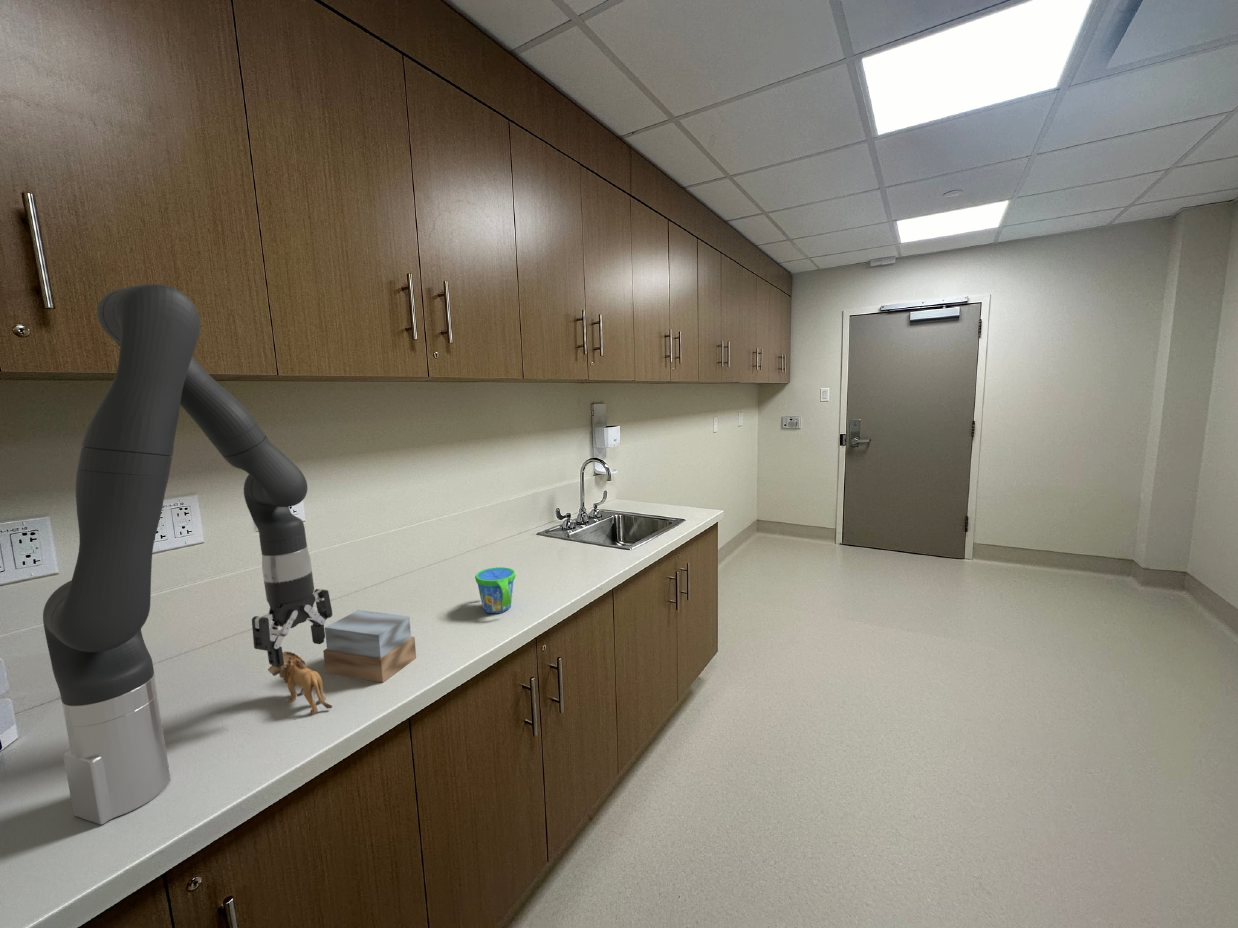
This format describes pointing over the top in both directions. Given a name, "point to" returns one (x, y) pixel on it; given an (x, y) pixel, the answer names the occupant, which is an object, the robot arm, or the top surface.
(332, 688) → the top surface
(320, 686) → the lion figurine
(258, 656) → the top surface
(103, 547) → the robot arm
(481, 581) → the snack cup
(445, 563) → the top surface
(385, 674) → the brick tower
